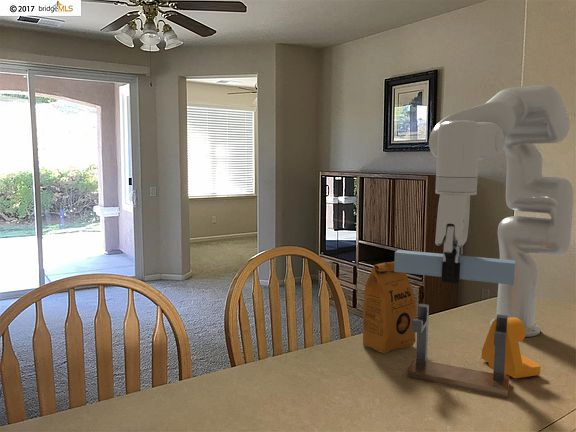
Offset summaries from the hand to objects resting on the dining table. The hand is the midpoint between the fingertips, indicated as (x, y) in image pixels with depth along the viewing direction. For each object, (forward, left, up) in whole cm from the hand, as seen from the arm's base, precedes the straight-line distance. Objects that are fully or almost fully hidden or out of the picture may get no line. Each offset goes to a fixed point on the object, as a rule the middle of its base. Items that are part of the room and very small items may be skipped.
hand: (451, 279), depth 94 cm
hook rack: (-7, +1, -24) cm, 25 cm away
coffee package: (-19, -17, -24) cm, 35 cm away
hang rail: (0, 0, +1) cm, 1 cm away
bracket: (-19, +11, -24) cm, 33 cm away
